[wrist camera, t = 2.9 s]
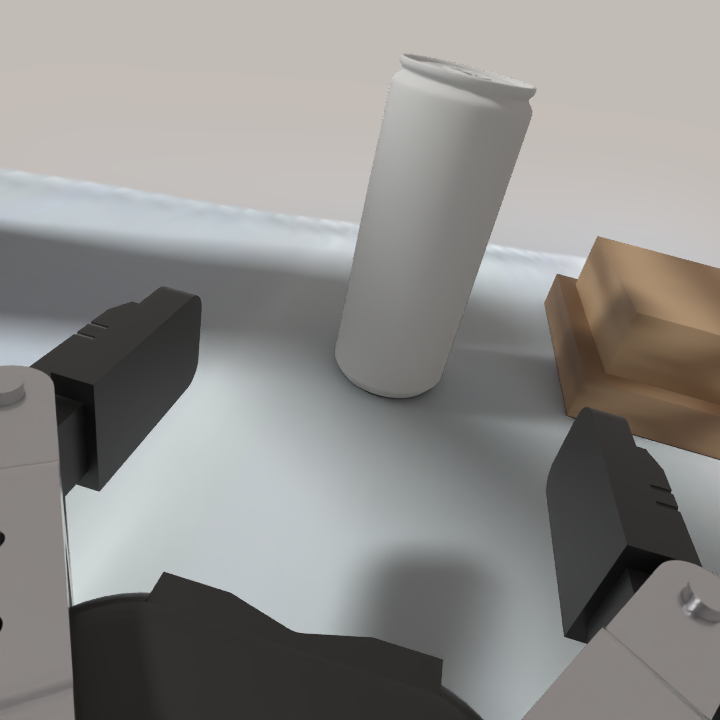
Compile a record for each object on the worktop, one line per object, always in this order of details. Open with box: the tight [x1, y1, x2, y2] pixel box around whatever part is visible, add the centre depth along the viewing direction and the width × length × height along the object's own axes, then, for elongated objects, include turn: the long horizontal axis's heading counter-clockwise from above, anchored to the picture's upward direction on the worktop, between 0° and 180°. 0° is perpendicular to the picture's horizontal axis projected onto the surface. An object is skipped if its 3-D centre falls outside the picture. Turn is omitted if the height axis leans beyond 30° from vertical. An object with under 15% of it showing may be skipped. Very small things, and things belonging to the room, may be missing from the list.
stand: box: [545, 236, 720, 459], centre depth 28 cm, size 12×12×5 cm
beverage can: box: [335, 54, 536, 398], centre depth 22 cm, size 5×5×12 cm
